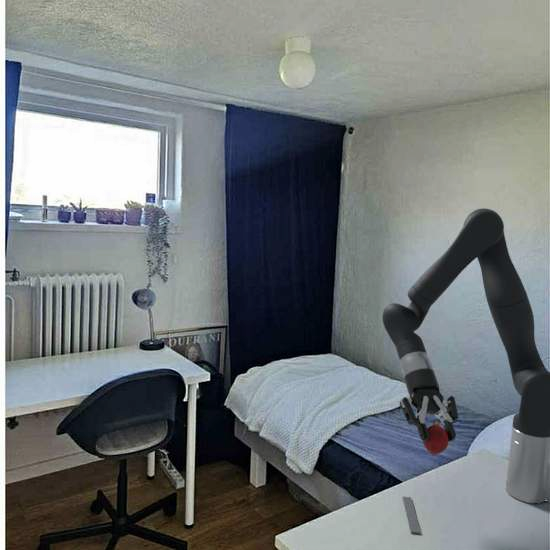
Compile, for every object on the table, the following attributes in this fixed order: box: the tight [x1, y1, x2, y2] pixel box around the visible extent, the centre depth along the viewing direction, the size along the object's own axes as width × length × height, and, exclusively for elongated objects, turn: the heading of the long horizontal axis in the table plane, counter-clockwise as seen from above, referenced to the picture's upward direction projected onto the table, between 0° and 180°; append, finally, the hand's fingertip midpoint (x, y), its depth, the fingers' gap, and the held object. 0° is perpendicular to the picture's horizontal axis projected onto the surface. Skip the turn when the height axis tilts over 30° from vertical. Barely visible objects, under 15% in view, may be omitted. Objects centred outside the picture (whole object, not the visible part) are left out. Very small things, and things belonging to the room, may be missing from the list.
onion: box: [422, 421, 450, 456], centre depth 115 cm, size 6×6×8 cm
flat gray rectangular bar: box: [402, 496, 422, 535], centre depth 114 cm, size 2×14×1 cm, turn 173°
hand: (439, 440), depth 113 cm, fingers closed on onion, 5 cm apart
